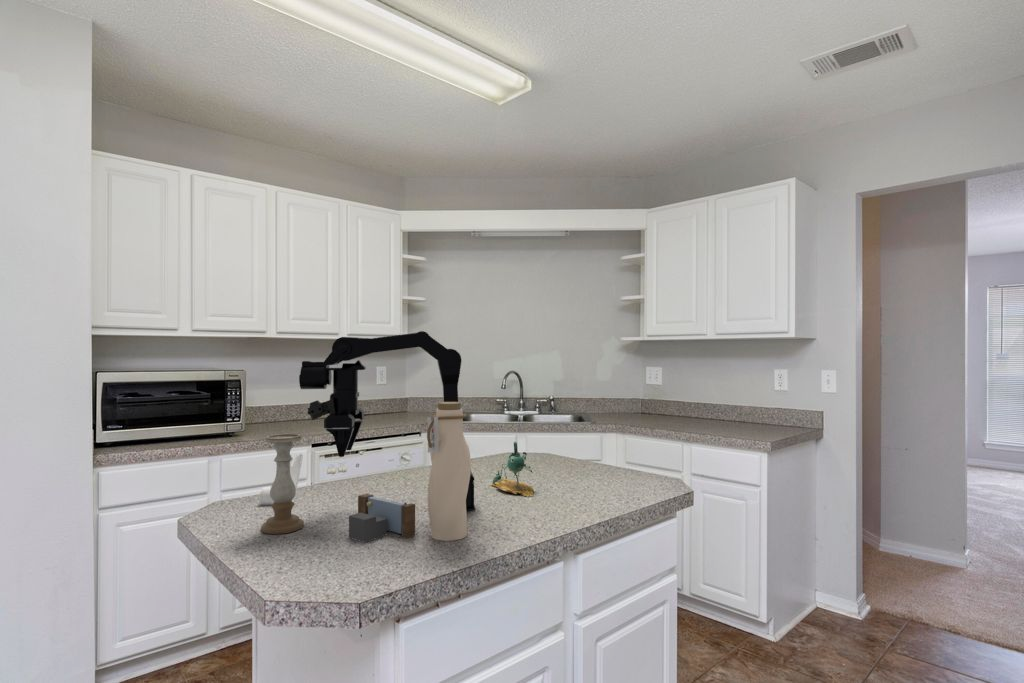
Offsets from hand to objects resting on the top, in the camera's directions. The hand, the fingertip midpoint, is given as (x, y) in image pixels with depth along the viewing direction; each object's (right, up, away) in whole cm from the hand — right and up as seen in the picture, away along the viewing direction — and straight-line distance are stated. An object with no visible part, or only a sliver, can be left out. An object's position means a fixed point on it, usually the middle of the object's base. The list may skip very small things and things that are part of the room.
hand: (345, 453), depth 134 cm
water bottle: (+27, -14, -17) cm, 35 cm away
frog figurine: (+41, -15, +23) cm, 49 cm away
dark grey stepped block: (+10, -14, -17) cm, 24 cm away
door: (+13, -14, -13) cm, 23 cm away
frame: (+13, -14, -13) cm, 23 cm away
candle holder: (-10, -14, -12) cm, 21 cm away
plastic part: (-20, -15, +11) cm, 27 cm away
